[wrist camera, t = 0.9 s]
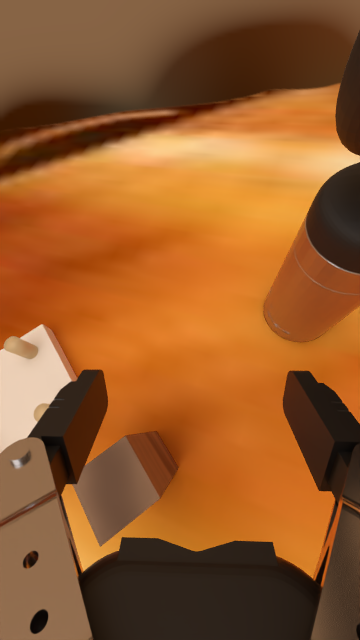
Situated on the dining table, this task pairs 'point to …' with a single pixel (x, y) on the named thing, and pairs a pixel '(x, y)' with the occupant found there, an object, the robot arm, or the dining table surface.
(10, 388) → the peg stand
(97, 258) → the dining table surface
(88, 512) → the walnut post
